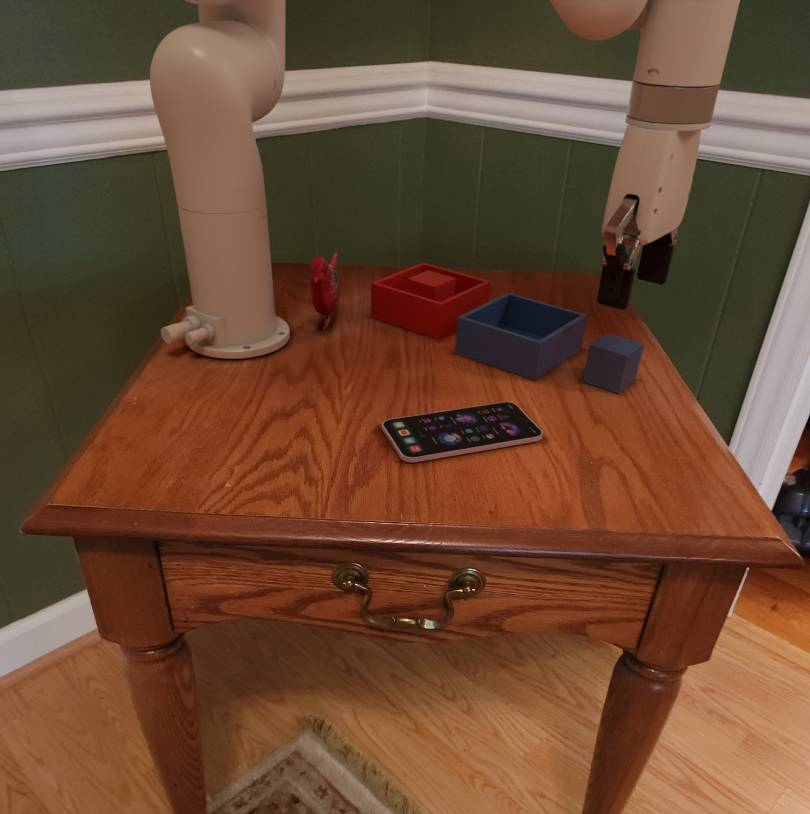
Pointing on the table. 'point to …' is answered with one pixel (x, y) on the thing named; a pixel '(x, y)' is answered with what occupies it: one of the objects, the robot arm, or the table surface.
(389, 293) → the red bin
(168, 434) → the table surface
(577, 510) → the table surface
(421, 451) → the smartphone
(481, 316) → the blue bin
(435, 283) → the red block
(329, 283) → the decorative bird figurine
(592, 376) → the blue block
